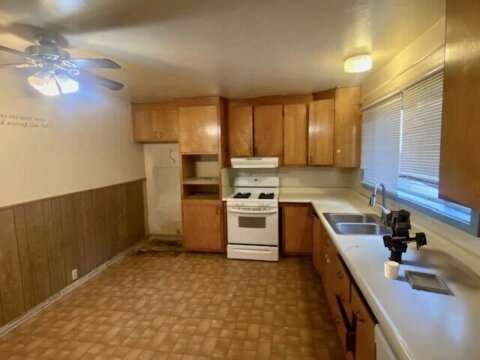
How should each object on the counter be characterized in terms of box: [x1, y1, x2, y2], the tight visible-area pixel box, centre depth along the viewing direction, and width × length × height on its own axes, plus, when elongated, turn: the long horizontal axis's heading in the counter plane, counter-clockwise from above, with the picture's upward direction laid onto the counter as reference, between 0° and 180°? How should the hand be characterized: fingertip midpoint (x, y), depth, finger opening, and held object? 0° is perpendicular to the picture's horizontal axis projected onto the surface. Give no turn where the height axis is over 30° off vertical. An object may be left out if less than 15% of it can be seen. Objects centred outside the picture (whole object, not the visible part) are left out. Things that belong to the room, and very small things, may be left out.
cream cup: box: [384, 260, 401, 280], centre depth 138 cm, size 7×7×7 cm
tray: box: [403, 269, 450, 295], centre depth 132 cm, size 16×14×2 cm
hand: (406, 250), depth 131 cm, fingers open, 9 cm apart
